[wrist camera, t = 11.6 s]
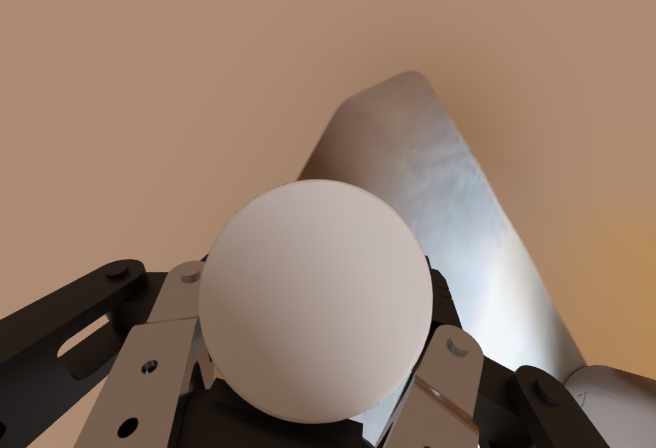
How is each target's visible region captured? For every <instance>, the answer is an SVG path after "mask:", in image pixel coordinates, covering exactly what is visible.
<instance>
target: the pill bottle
mask: <svg viewBox="0 0 656 448" xmlns="http://www.w3.org/2000/svg"><path fill="white" fill-rule="evenodd" d="M432 303H433V292H432V282H431V275H430V271H429V267H428V264H427V261H426V257H425V255H424V252H423V250H422V247H421V246H420V244H419V242H418V240H417V238H416V236H415V234H414V232H413V231H412V230H411V228H410V227H409V226H408V224H407V223H406V222H405V221H404V219H403V218H402V217H401V216H400V215H399V214H398V213H397V212H396V211H395V210H394V209H393V208H392V207H391V206H390V205H388V204H387V203H386V202H385V201H383V200H382V199H380V198H379V197H377V196H375V195H374V194H372V193H370V192H368V191H366V190H364V189H361V188H359V187H357V186H354V185H351V184H348V183H344V182H340V181H334V180H325V179H311V180H301V181H295V182H291V183H287V184H283V185H281V186H278V187H275V188H273V189H270V190H268V191H266V192H264V193H262V194H261V195H258V196H257V197H255V198H254V199H253V200H251V201H250V202H248V203H247V204H246V205H245V206H244V207H242V208H241V209H240V210H239V211H238V212H237V213H236V214H235V215H234V216H233V217H232V218H231V219H230V220H229V221H228V223H227V224H226V225H225V226H224V228H223V229H222V231H221V232H220V233H219V235H218V237H217V238H216V240H215V242H214V243H213V246H212V247H211V249H210V251H209V254H208V257H207V259H206V262H205V266H204V269H203V273H202V277H201V283H200V291H199V318H200V324H201V329H202V336H203V338H204V341H205V345H206V347H207V350H208V352H209V355H210V357H211V359H212V360H213V362H214V364H215V366H216V367H217V369H218V371H219V373H220V374H221V376H222V377H223V378H224V380H225V381H226V382H227V384H228V385H229V386H230V387H231V388H232V389H233V390H234V391H235V392H236V393H237V394H238V395H239V396H241V397H242V398H243V399H244V400H245V401H247V402H248V403H250V404H251V405H253V406H254V407H255V408H257V409H259V410H261V411H263V412H265V413H267V414H268V415H271V416H274V417H277V418H279V419H282V420H286V421H290V422H296V423H304V424H320V423H331V422H337V421H341V420H345V419H347V418H350V417H353V416H355V415H358V414H360V413H362V412H365V411H367V410H369V409H371V408H372V407H373V406H375V405H377V404H379V403H380V402H381V401H382V400H384V399H385V398H386V397H387V396H388V395H390V394H391V393H392V392H393V391H394V390H395V389H396V388H397V387H398V386H399V385H400V384H401V383H402V382H403V381H404V379H405V378H406V377H407V375H408V374H409V372H410V371H411V370H412V368H413V367H414V365H415V363H416V362H417V360H418V358H419V356H420V354H421V352H422V350H423V347H424V344H425V341H426V339H427V336H428V333H429V329H430V324H431V317H432Z"/></svg>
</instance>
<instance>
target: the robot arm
mask: <svg viewBox="0 0 656 448" xmlns="http://www.w3.org/2000/svg"><path fill="white" fill-rule="evenodd" d="M208 254H209V253H208ZM208 254H207V255H206V256H205V257H204V258H203V259H202V260H200V261H189V262H186V263H182V264H180V265H178V266H176V267H174V268H173V269H172V270H171V271H170V272H146V270H145V267H144V265H143V263H142V262H140V261H138V260H133V259H126V260H119V261H115V262H111V263H109V264H106V265H104V266H102V267H100V268H98V269H96V270H94V271H92V272H91V273H89V274H87V275H85V276H83V277H81V278H79V279H77V280H75V281H74V282H72V283H70V284H68V285H66V286H64V287H62V288H60V289H58V290H56V291H55V292H52V293H51V294H49V295H47V296H45V297H43V298H41V299H39V300H37V301H35V302H33V303H32V304H30V305H28V306H26V307H24V308H22V309H20V310H19V311H16V312H14V313H13V314H11V315H9V316H7V317H5V318H3V319H1V320H0V448H26V447H27V446H28V445H29V444H30V443H32V442H33V441H34V440H35V439H36V438H37V437H38V436H40V434H42V433H43V432H44V431H45V430H46V429H47V428H49V427H50V426H51V425H52V424H53V423H54V422H55V421H56V420H57V419H59V418H60V417H61V416H62V415H63V414H64V413H65V412H67V411H68V410H69V409H70V408H71V407H72V406H73V405H74V404H76V403H77V402H78V401H79V400H80V399H81V398H82V397H83V396H84V395H86V394H87V393H88V392H89V391H90V390H91V389H92V388H94V387H95V386H96V385H97V384H98V383H99V382H100V381H102V380H103V379H104V378H105V377H106V376H107V375H108V374H109V375H108V378H107V380H106V382H105V384H104V386H103V388H102V390H101V392H100V394H99V396H98V398H97V400H96V402H95V404H94V406H93V408H92V411H91V413H90V415H89V417H88V419H87V421H86V423H85V425H84V427H83V429H82V431H81V433H80V435H79V437H78V439H77V441H76V444H75V446H74V448H477V447H478V444H479V446H480V448H656V380H654V379H650V378H646V377H643V376H639V375H636V374H632V373H629V372H625V371H622V370H618V369H615V368H611V367H607V366H599V365H598V366H597V365H593V366H587V367H584V368H582V369H579V370H577V371H576V372H575V373H574V374H572V375H571V376H570V377H569V379H568V380H567V382H566V383H565V385H564V386H563V385H562V384H561V383H560V382H559V381H558V380H557V379H555V378H554V377H553V376H551V375H550V374H548V373H547V372H545V371H543V370H541V369H539V368H536V367H533V366H529V365H524V366H521V367H519V368H518V369H517V370H516V371H515V372H514V371H512V370H510V369H508V368H506V367H504V366H502V365H500V364H499V363H497V362H495V361H493V360H491V359H489V358H488V357H486V356H485V355H483V352H482V349H481V347H480V346H479V344H478V343H477V342H476V340H475V339H474V338H473V337H472V336H471V335H469V334H468V333H467V332H465V331H464V330H463V329H462V326H461V323H460V320H459V317H458V314H457V311H456V308H455V305H454V303H453V300H452V299H451V298H452V297H451V294H450V291H449V288H448V285H447V282H446V279H445V278H444V277H443V276H442V275H441V273H440V272H439V271H438V270H435V269H431V266H430V262H429V258H428V256H425V257H426V261H427V264H428V267H429V271H430V275H431V282H432V292H433V303H432V317H431V324H430V329H429V333H428V336H427V339H426V341H425V344H424V347H423V350H422V352H421V354H420V356H419V358H418V360H417V362H416V363H415V365H414V367H413V368H412V372H411V374H410V376H409V377H408V379H407V382H406V384H405V386H404V388H403V390H402V392H401V394H400V396H399V398H398V400H397V403H396V405H395V407H394V409H393V411H392V413H391V415H390V417H389V419H388V422H387V424H386V426H385V428H384V429H383V431H382V433H381V435H380V437H379V439H378V441H377V443H376V445H375V447H374V446H373V445H372V444H371V443H370V442H369V441H367V440H366V439H364V438H363V437H362V434H363V423H360V422H356V421H353V420H350V419H345V420H341V421H337V422H331V423H320V424H304V423H296V422H290V421H286V420H282V419H279V418H277V417H274V416H271V415H268V414H267V413H265V412H263V411H261V410H259V409H257V408H255V407H254V406H253V405H251V404H250V403H248V402H247V401H245V400H244V399H243V398H242V397H241V396H239V395H238V394H237V393H236V392H235V391H234V390H233V389H232V388H231V387H230V386H229V385H228V384H227V382H226V381H225V380H223V379H220V378H216V379H215V381H214V362H213V360H212V359H211V357H210V355H209V352H208V350H207V347H206V345H205V341H204V338H203V336H202V329H201V324H200V318H199V291H200V283H201V277H202V273H203V269H204V266H205V262H206V259H207V257H208ZM104 314H106V316H107V318H108V320H109V322H108V323H106V324H105V325H103V326H102V327H101V328H99V329H98V330H96V331H95V332H94V333H92V334H91V335H89V336H88V337H87V338H85V339H84V340H82V341H81V342H80V343H78V344H77V345H76V346H74V347H73V348H71V349H70V350H68V351H67V352H66V353H64V354H63V355H62V356H60V357H57V354H58V350H59V349H60V347H61V346H62V345H63V344H64V343H65V342H66V341H67V340H68V339H69V338H71V337H72V336H74V335H75V334H76V333H78V332H80V331H81V330H82V329H84V328H85V327H87V326H88V325H90V324H91V323H93V322H94V321H96V320H97V319H99V318H100V317H101V316H103V315H104Z"/></svg>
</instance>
